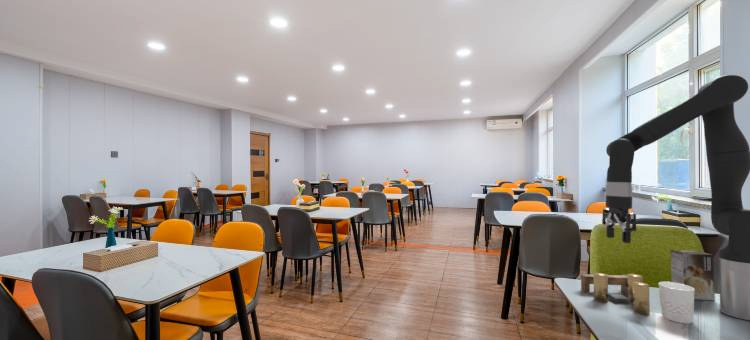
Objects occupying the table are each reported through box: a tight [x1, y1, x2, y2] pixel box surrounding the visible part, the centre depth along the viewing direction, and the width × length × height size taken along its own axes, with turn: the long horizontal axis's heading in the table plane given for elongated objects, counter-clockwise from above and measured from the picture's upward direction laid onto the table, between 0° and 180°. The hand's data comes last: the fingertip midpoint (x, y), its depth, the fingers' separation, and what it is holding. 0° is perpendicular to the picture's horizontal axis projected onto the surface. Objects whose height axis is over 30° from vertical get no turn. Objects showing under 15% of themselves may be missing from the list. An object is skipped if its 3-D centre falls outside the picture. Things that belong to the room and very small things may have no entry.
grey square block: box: [608, 293, 630, 305], centre depth 108 cm, size 4×4×2 cm
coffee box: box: [670, 249, 716, 301], centre depth 112 cm, size 9×6×16 cm
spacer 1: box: [593, 272, 609, 303], centre depth 109 cm, size 4×4×9 cm
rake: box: [580, 273, 628, 295], centre depth 116 cm, size 16×5×6 cm, turn 82°
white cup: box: [658, 281, 695, 325], centre depth 94 cm, size 8×8×10 cm
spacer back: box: [632, 282, 651, 316], centre depth 99 cm, size 4×4×9 cm
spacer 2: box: [626, 273, 644, 304], centre depth 107 cm, size 4×4×9 cm
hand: (617, 240), depth 111 cm, fingers open, 8 cm apart
